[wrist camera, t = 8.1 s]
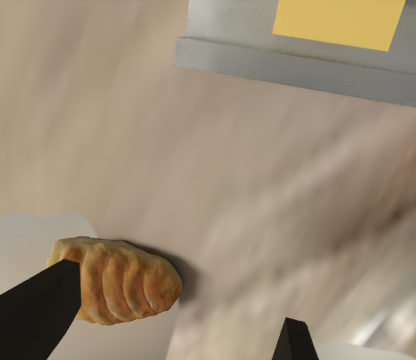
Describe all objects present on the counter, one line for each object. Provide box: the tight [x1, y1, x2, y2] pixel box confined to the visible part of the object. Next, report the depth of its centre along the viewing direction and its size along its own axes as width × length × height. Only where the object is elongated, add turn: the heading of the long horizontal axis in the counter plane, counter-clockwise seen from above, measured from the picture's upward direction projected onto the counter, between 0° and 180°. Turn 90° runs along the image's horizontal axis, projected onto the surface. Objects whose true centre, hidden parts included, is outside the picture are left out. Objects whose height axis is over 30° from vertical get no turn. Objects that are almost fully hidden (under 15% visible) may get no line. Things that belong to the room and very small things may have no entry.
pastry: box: [46, 236, 182, 326], centre depth 23 cm, size 9×7×4 cm
